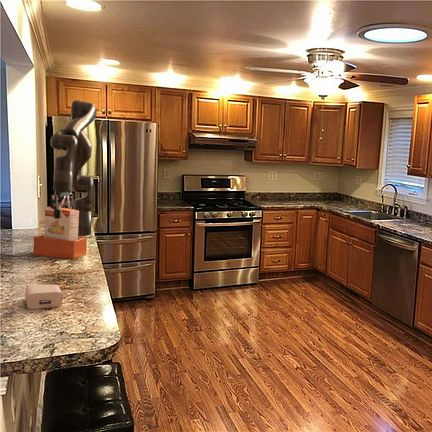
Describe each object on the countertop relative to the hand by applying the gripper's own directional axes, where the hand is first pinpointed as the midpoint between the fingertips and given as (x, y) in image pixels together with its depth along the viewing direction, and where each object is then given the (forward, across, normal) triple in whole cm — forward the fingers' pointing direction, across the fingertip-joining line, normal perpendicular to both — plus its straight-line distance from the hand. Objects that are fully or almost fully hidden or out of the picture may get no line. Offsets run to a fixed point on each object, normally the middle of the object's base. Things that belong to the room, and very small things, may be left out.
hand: (61, 217), depth 205 cm
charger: (+17, -60, -30) cm, 69 cm away
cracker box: (+17, 0, 0) cm, 17 cm away
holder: (+17, 0, 0) cm, 17 cm away
